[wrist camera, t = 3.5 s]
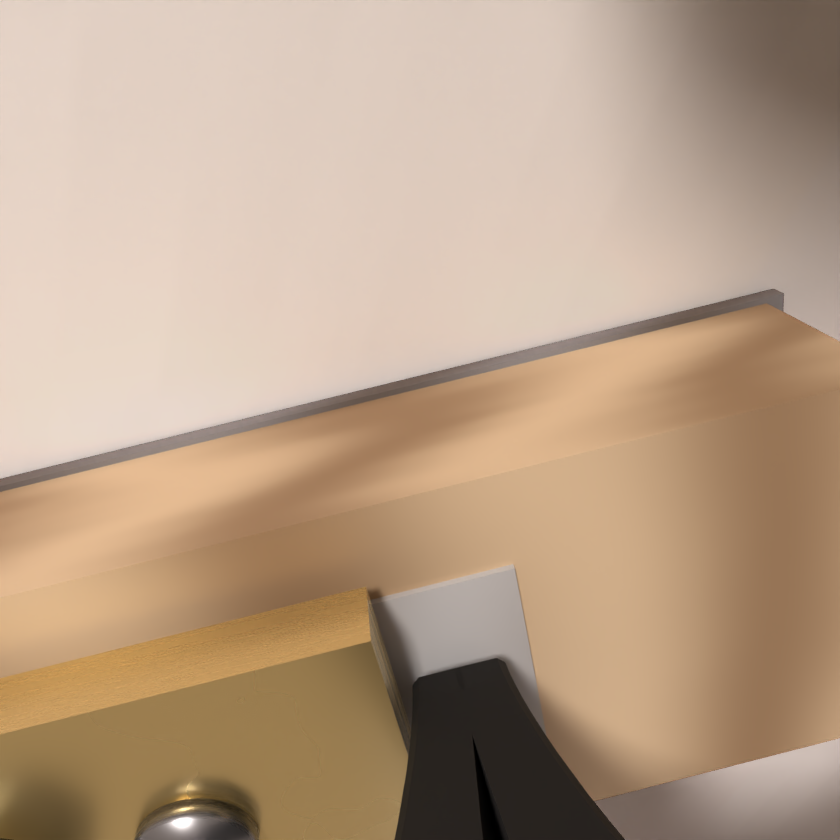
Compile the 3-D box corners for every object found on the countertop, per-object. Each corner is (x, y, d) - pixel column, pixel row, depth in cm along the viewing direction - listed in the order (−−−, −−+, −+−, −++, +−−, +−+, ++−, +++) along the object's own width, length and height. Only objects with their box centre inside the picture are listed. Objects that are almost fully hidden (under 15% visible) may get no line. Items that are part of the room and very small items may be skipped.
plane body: (773, 289, 13) (929, 364, 9) (768, 601, 16) (883, 736, 13) (-165, 519, 12) (-335, 678, 9) (27, 789, 16) (-50, 975, 12)
